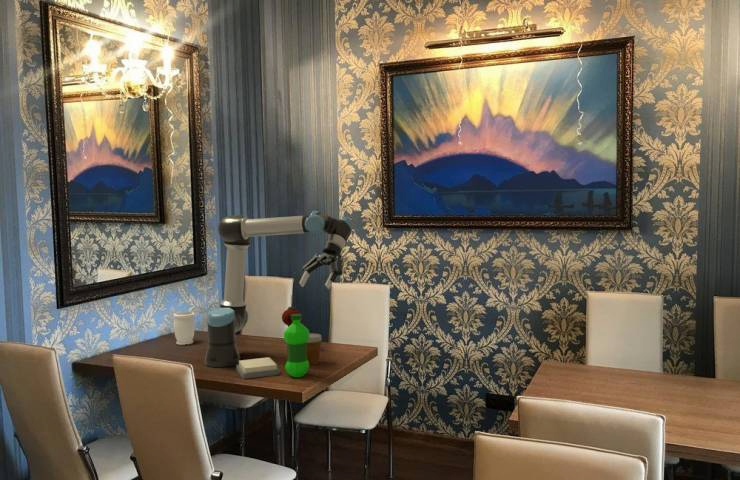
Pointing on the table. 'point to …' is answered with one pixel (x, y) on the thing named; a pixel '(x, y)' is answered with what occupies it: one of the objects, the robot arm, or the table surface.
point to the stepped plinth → (257, 374)
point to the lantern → (289, 315)
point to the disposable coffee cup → (313, 348)
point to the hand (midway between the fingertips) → (313, 286)
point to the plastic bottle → (296, 347)
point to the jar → (184, 327)
